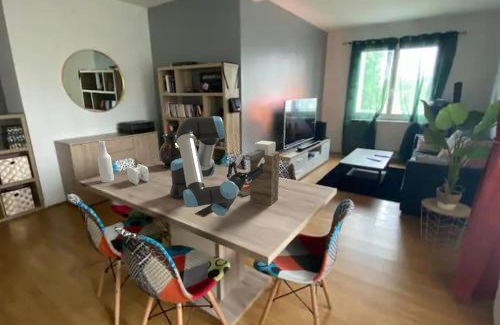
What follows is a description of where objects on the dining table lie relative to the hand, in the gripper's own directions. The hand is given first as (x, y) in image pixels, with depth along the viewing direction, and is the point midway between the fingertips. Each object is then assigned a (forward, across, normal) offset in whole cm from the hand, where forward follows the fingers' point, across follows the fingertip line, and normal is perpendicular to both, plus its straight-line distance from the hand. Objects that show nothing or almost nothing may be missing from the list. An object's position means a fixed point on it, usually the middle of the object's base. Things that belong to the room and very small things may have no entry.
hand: (252, 157), depth 141 cm
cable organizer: (-17, -96, -26) cm, 101 cm away
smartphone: (-26, -21, -21) cm, 39 cm away
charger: (+6, 0, -4) cm, 8 cm away
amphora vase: (+19, -105, -47) cm, 117 cm away
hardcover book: (+5, -22, -39) cm, 45 cm away
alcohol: (-26, -118, -21) cm, 122 cm away
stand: (-2, 0, -34) cm, 34 cm away
